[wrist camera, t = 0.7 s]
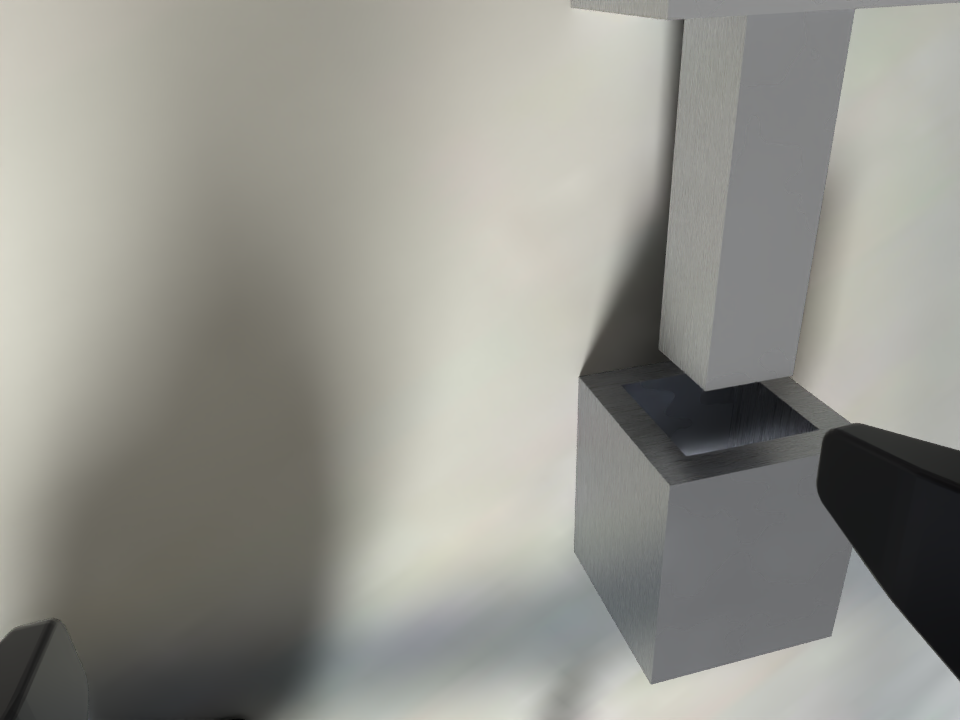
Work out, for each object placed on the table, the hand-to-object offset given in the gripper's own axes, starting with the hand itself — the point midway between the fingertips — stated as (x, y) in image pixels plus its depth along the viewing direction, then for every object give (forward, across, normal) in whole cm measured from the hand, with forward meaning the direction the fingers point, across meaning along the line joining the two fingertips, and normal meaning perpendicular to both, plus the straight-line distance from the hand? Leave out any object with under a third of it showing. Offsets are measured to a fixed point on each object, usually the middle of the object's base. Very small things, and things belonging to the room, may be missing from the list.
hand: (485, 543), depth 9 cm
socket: (+13, -9, +9) cm, 19 cm away
